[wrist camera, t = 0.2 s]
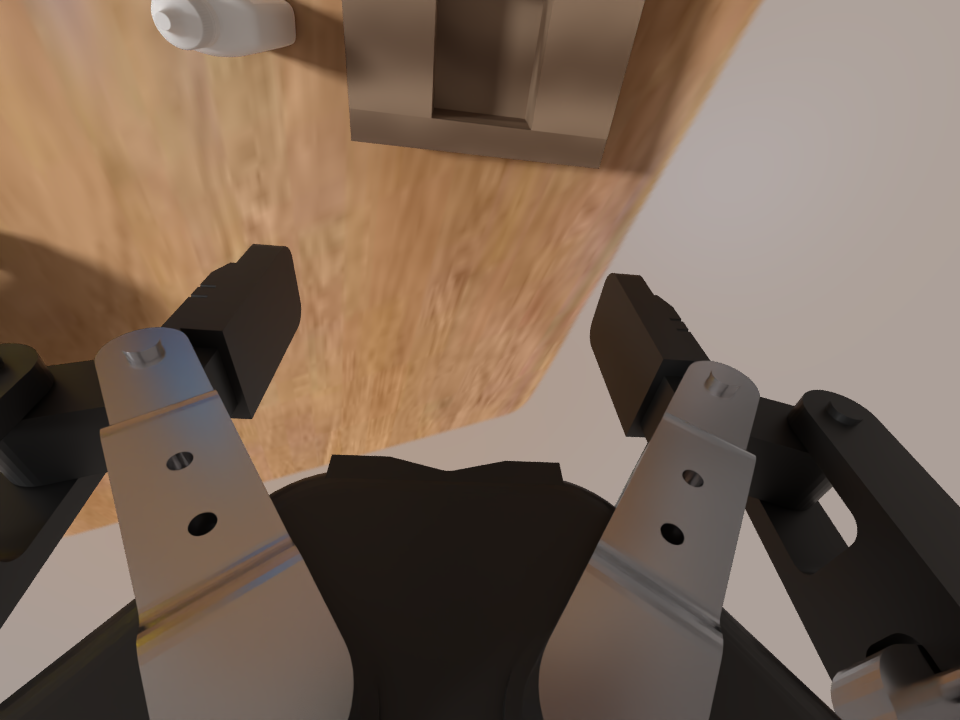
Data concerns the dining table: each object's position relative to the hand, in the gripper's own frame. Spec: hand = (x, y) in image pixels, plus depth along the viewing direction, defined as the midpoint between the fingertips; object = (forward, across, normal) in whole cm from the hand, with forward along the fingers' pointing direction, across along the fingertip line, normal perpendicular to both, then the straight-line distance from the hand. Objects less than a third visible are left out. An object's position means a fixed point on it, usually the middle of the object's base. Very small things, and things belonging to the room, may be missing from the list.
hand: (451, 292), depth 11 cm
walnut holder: (+29, -2, -4) cm, 29 cm away
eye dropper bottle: (+29, +14, -4) cm, 32 cm away
